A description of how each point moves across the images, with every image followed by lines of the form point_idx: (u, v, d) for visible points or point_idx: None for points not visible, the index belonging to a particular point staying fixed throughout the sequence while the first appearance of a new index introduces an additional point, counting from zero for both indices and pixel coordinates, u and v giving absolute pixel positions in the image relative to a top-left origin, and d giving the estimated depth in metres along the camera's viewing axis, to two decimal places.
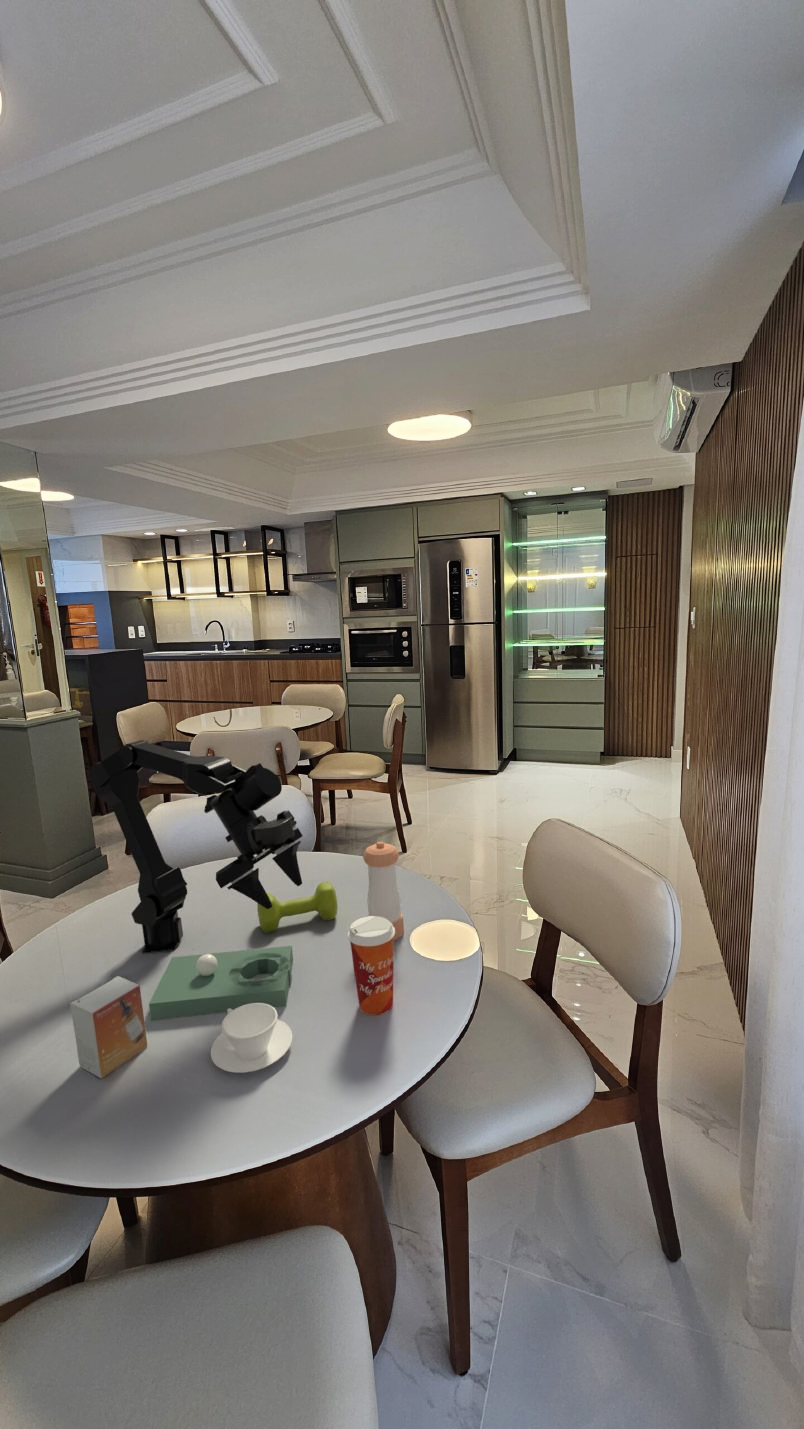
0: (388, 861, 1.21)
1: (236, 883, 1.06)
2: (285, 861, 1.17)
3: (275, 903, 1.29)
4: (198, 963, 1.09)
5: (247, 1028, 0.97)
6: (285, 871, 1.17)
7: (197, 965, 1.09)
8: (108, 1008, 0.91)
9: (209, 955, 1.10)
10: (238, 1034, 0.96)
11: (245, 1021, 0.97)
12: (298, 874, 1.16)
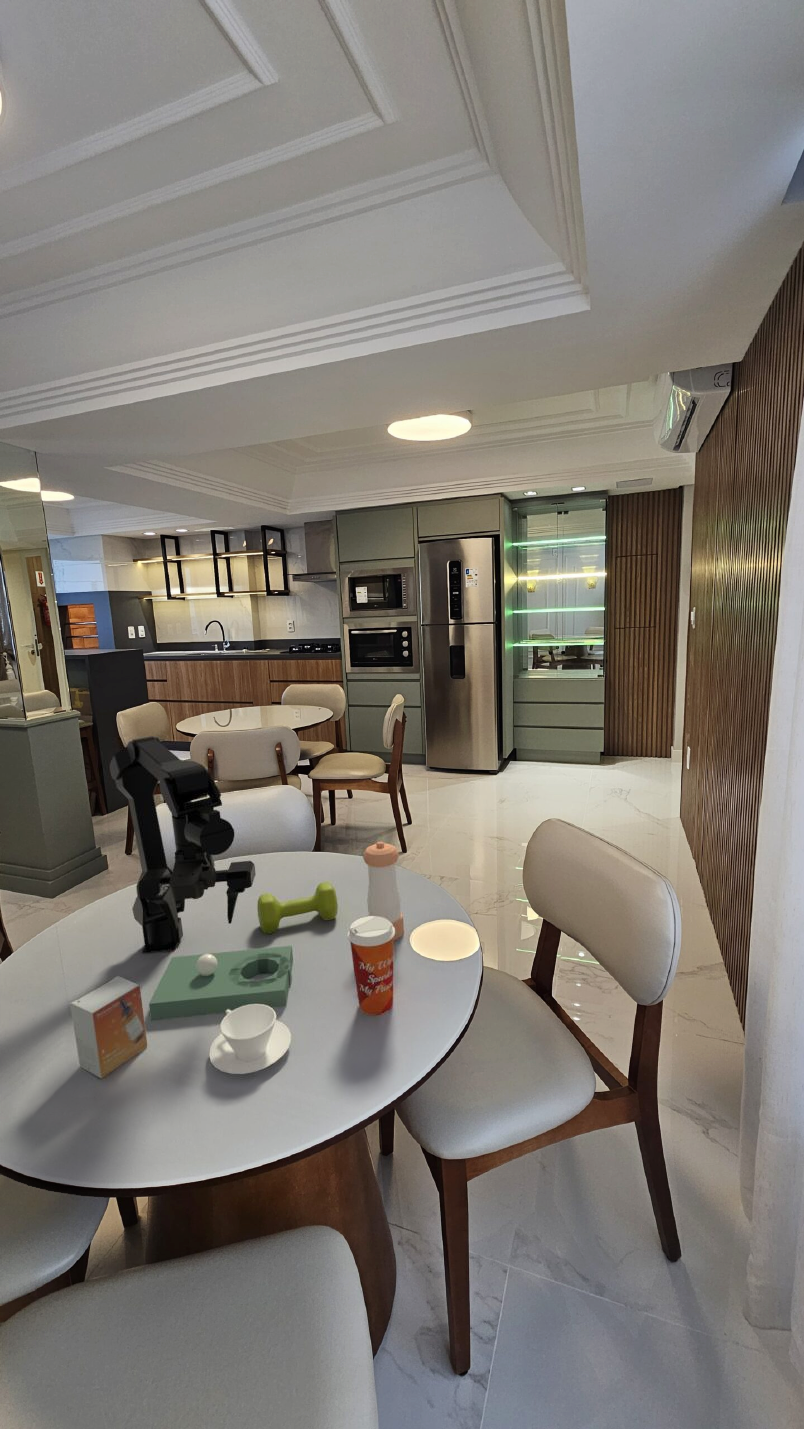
0: (388, 861, 1.21)
1: None
2: None
3: (275, 903, 1.29)
4: (198, 963, 1.09)
5: (246, 1029, 0.96)
6: None
7: (197, 965, 1.09)
8: (108, 1008, 0.91)
9: (209, 955, 1.10)
10: (237, 1035, 0.95)
11: (244, 1022, 0.97)
12: (229, 915, 1.08)
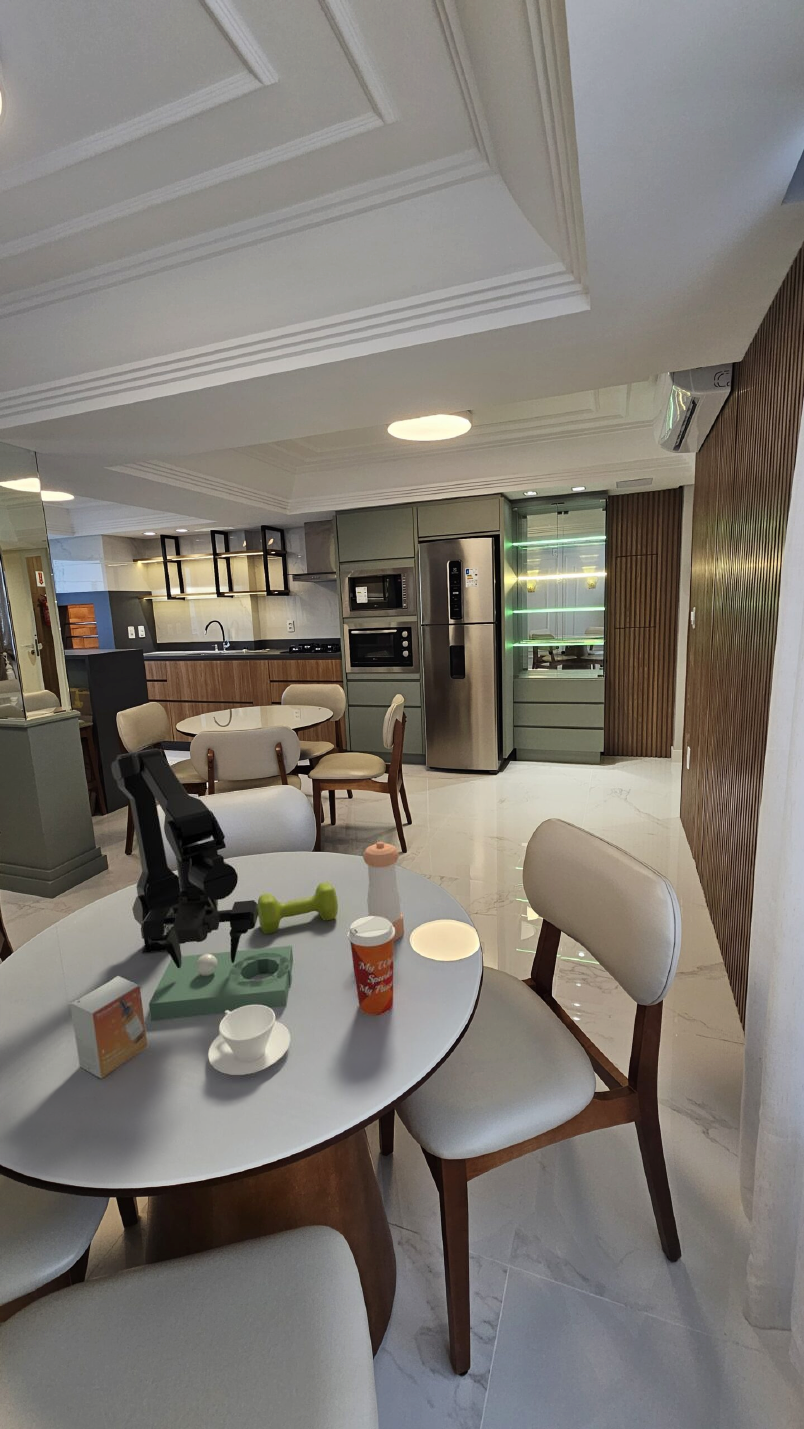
0: (388, 861, 1.21)
1: None
2: None
3: (276, 904, 1.29)
4: (198, 963, 1.09)
5: (245, 1030, 0.96)
6: None
7: (197, 965, 1.09)
8: (108, 1008, 0.91)
9: (209, 955, 1.10)
10: (236, 1036, 0.95)
11: (243, 1023, 0.96)
12: (232, 954, 1.09)
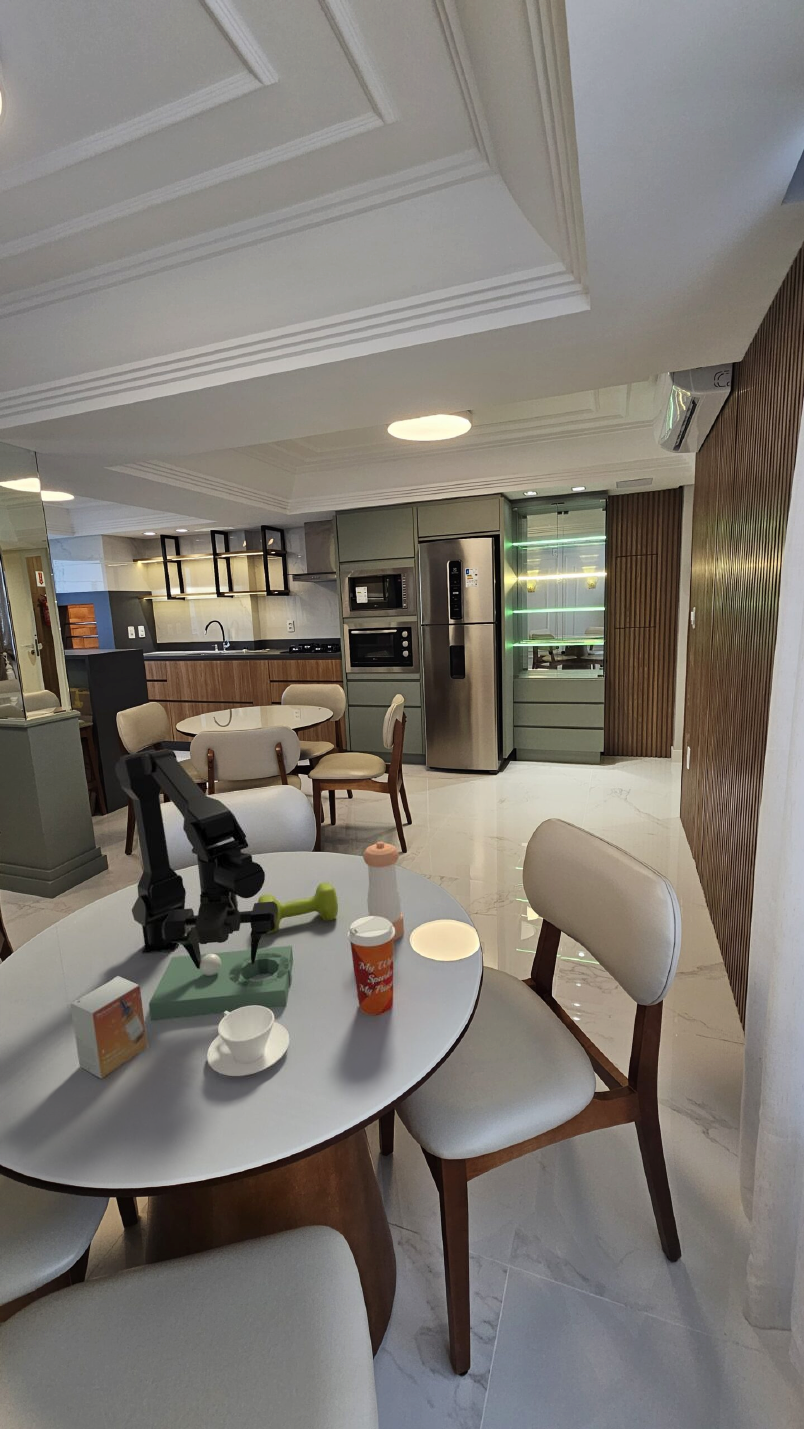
0: (388, 861, 1.21)
1: None
2: None
3: None
4: (204, 961, 1.09)
5: (244, 1031, 0.96)
6: None
7: (202, 962, 1.09)
8: (108, 1008, 0.91)
9: (216, 956, 1.10)
10: (235, 1037, 0.95)
11: (242, 1024, 0.96)
12: (252, 955, 1.09)
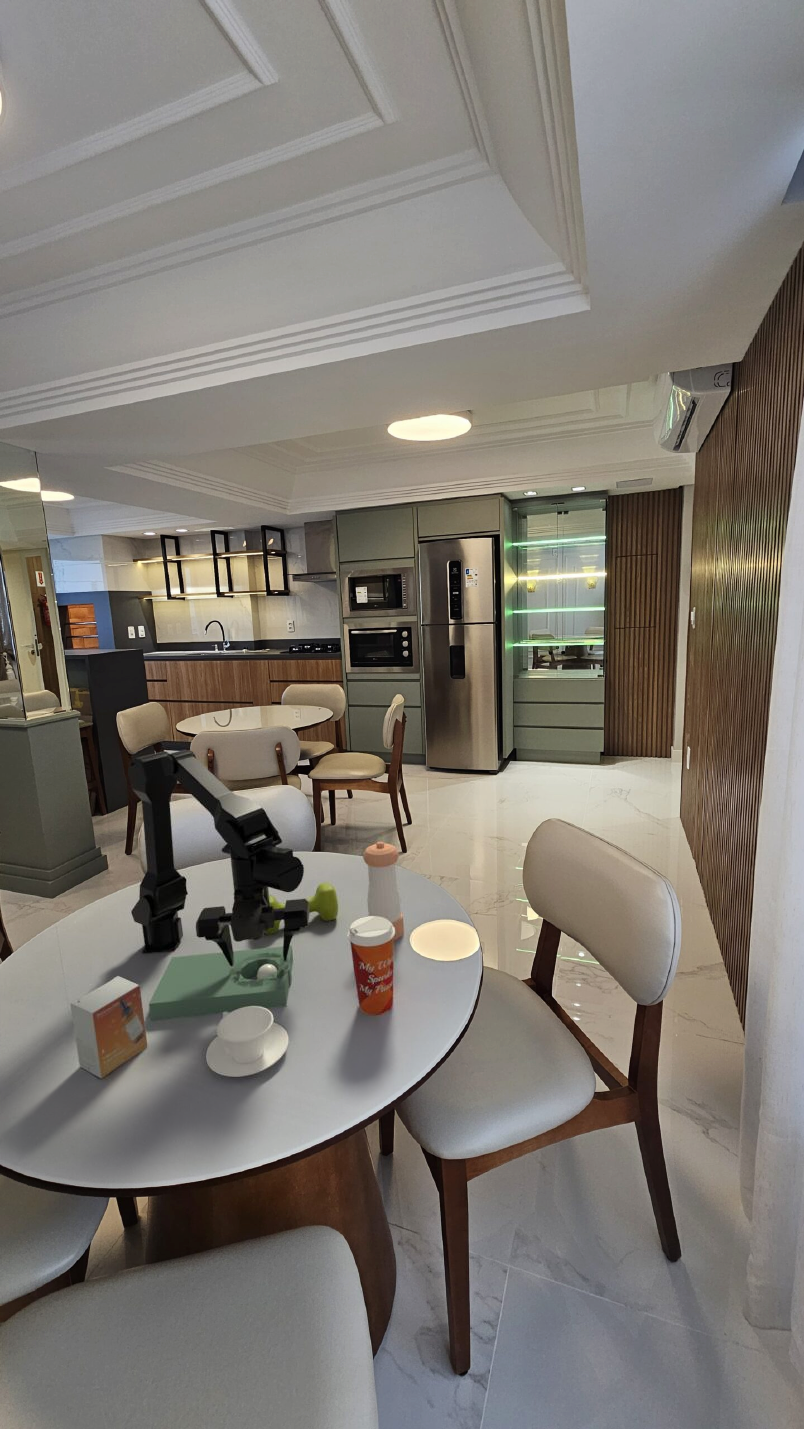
0: (388, 861, 1.21)
1: None
2: None
3: (276, 904, 1.29)
4: (258, 977, 1.10)
5: (243, 1031, 0.96)
6: None
7: (258, 979, 1.10)
8: (108, 1008, 0.91)
9: (265, 965, 1.11)
10: (234, 1038, 0.95)
11: (241, 1024, 0.96)
12: (284, 952, 1.10)
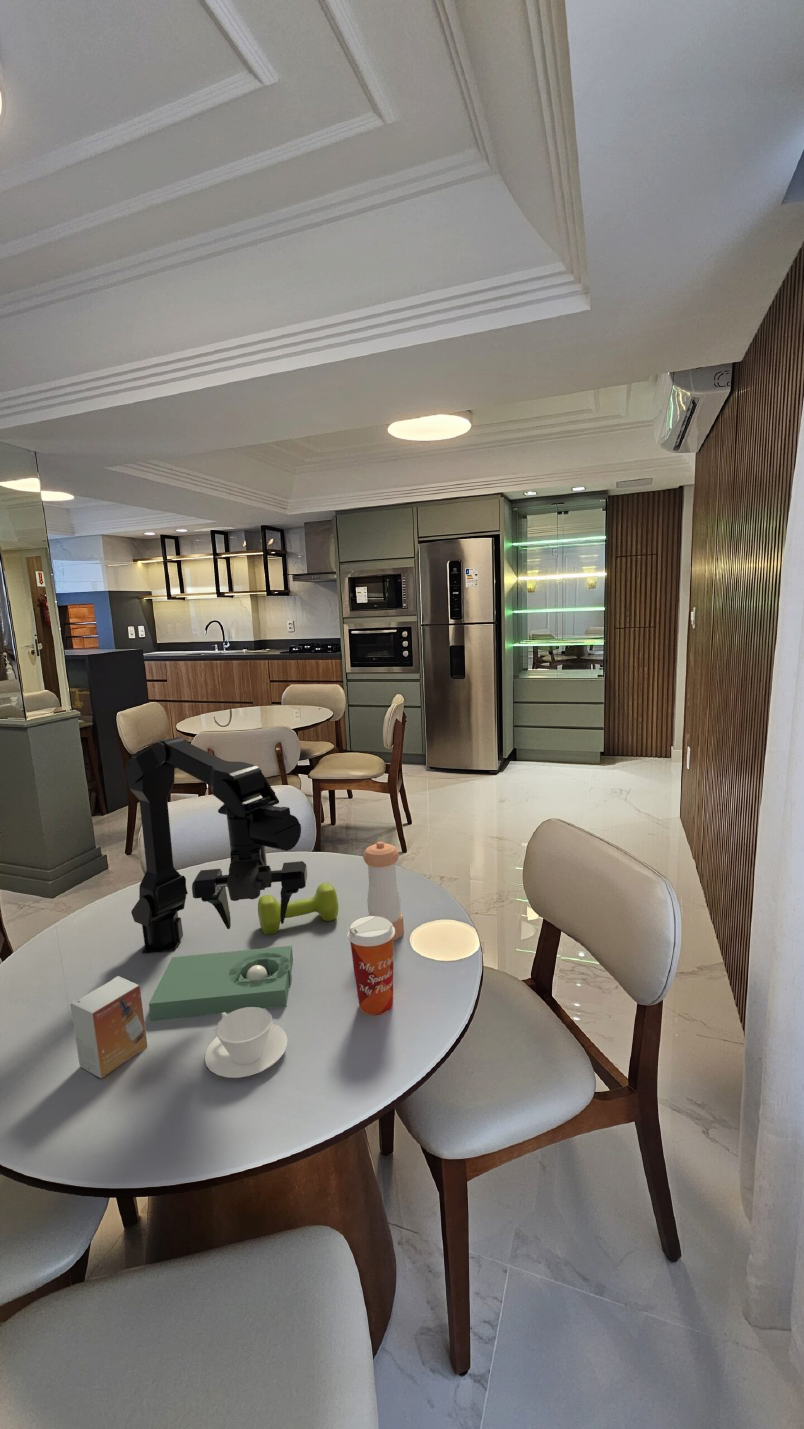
0: (388, 861, 1.21)
1: None
2: None
3: (276, 905, 1.29)
4: None
5: (242, 1032, 0.96)
6: None
7: None
8: (108, 1008, 0.91)
9: (247, 973, 1.11)
10: (233, 1038, 0.95)
11: (240, 1025, 0.96)
12: (282, 915, 1.09)
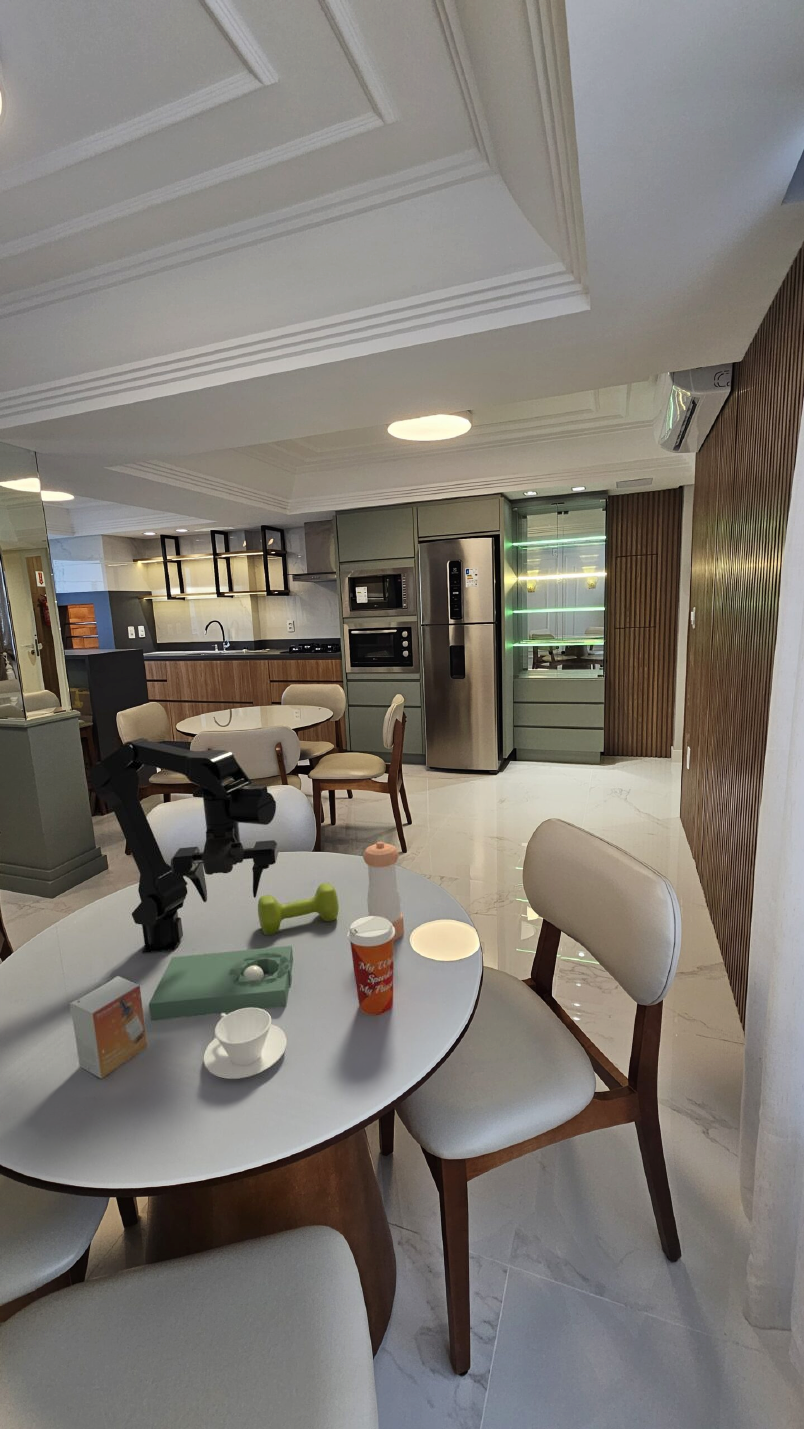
0: (388, 861, 1.21)
1: None
2: None
3: (276, 905, 1.29)
4: None
5: (241, 1033, 0.96)
6: None
7: None
8: (108, 1008, 0.91)
9: None
10: (232, 1039, 0.94)
11: (239, 1026, 0.96)
12: (254, 889, 1.18)
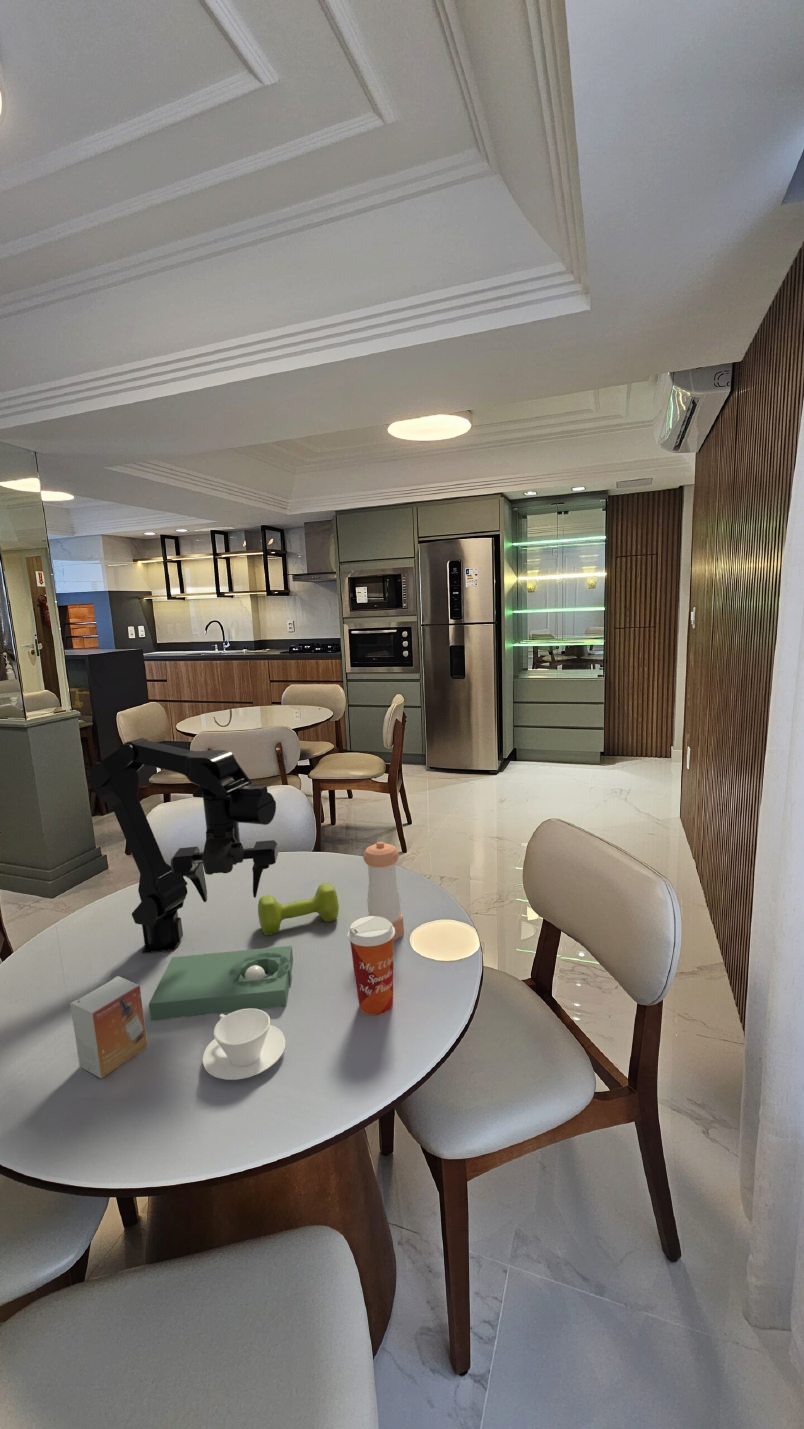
0: (388, 861, 1.21)
1: None
2: None
3: (276, 905, 1.28)
4: None
5: (240, 1034, 0.95)
6: None
7: None
8: (108, 1008, 0.91)
9: (244, 975, 1.11)
10: (230, 1040, 0.94)
11: (238, 1027, 0.96)
12: (254, 889, 1.18)
